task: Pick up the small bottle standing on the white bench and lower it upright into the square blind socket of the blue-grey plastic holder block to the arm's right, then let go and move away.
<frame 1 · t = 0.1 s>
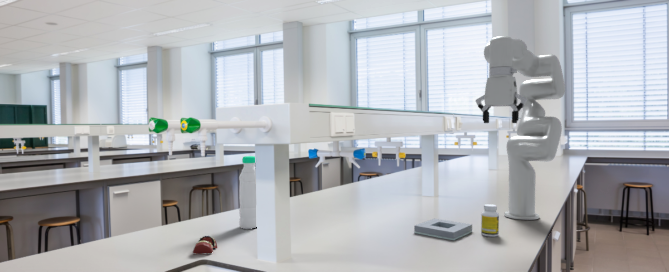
hand: (500, 123, 149), 37 cm above the worktop, tool pointing down, fingers open, 9 cm apart
supplement bottle: (489, 235, 141), on the worktop
holder block: (443, 232, 144), on the worktop
water bottle: (249, 227, 151), on the worktop
dental model: (205, 252, 123), on the worktop
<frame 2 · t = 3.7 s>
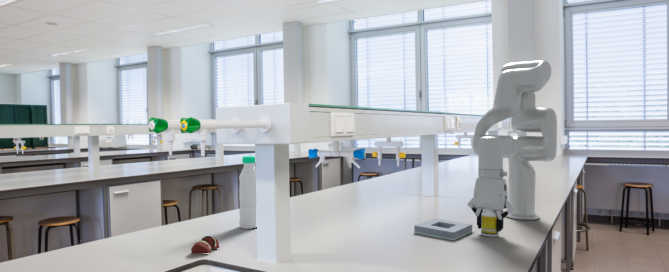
hand: (489, 228, 141), 2 cm above the worktop, tool pointing down, fingers closed on supplement bottle, 5 cm apart
supplement bottle: (489, 235, 141), on the worktop, touching gripper
when the fingers open (3 cm above the worktop, at t = 8.8 s): supplement bottle stays where it is, resting on holder block.
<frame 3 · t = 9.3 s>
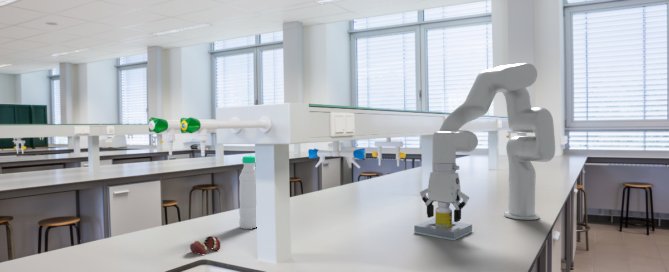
hand: (443, 219, 144), 4 cm above the worktop, tool pointing down, fingers open, 9 cm apart
supplement bottle: (443, 231, 144), resting on holder block
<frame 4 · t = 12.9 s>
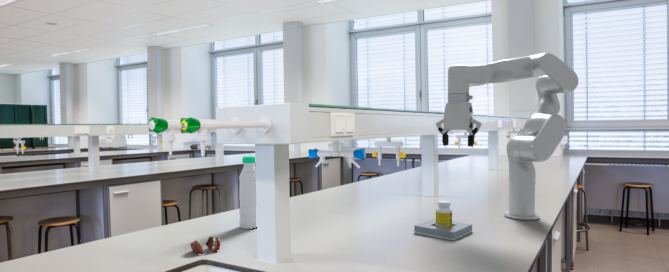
hand: (457, 145, 158), 28 cm above the worktop, tool pointing down, fingers open, 9 cm apart
at the end: supplement bottle 0.1 cm off-centre on the holder block, point 0.3 cm above the holder block's base; supplement bottle tilted 0°; the gripper is holding nothing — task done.
